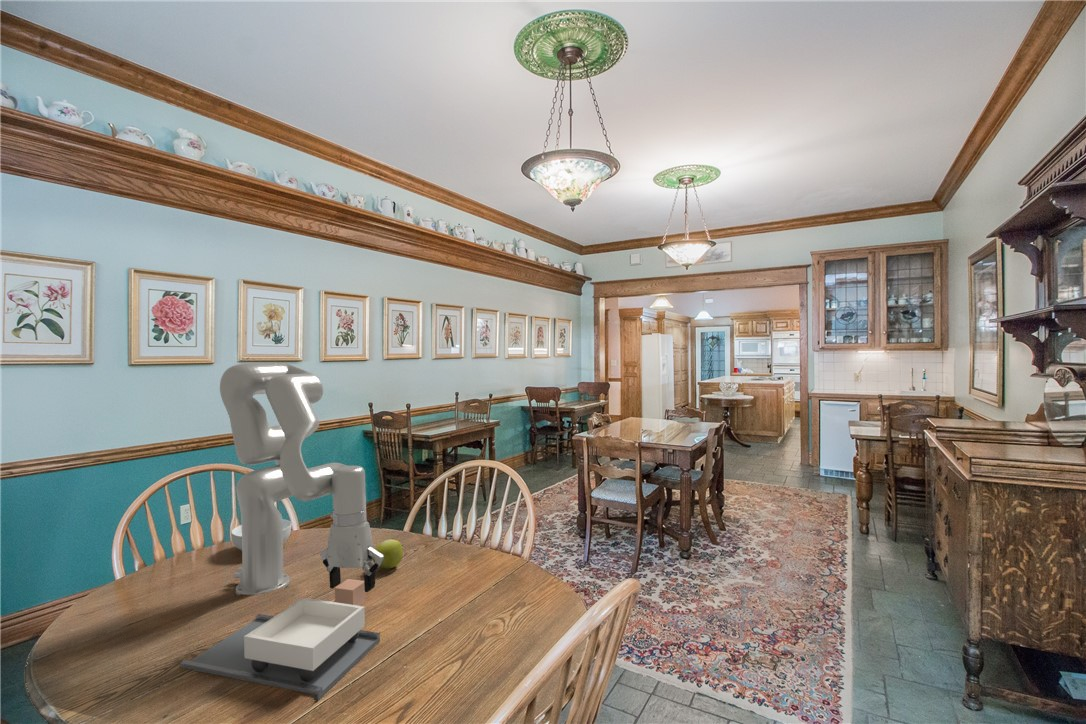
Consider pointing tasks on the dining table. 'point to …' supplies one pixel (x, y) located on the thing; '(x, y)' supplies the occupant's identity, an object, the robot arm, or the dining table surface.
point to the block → (350, 592)
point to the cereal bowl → (237, 533)
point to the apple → (390, 553)
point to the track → (233, 663)
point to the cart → (304, 635)
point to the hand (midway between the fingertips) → (352, 587)
